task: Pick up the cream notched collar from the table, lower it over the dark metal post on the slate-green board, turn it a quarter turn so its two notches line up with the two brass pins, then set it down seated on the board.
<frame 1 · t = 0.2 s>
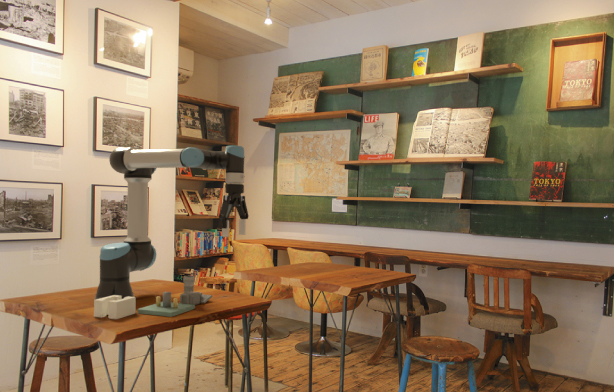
hand: (234, 235, 203), 28 cm above the table, fingers open, 13 cm apart
board: (166, 310, 189), on the table
camera: (193, 304, 202), on the table
collar: (115, 314, 181), on the table
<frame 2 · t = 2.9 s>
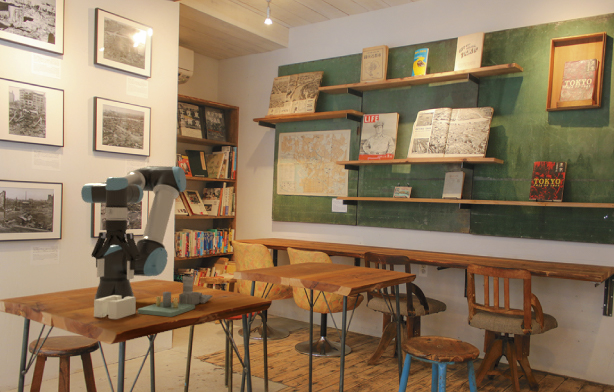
hand: (115, 277, 181), 14 cm above the table, fingers open, 13 cm apart
nothing on the table moved.
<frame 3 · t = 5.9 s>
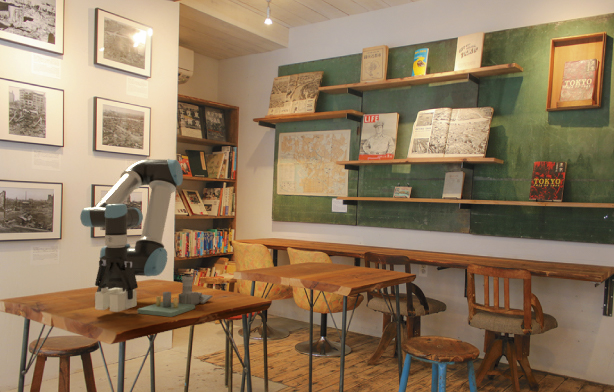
hand: (116, 306, 182), 3 cm above the table, fingers closed on collar, 10 cm apart
collar: (116, 307, 182), point 3 cm above the table, touching gripper
everything else where it was.
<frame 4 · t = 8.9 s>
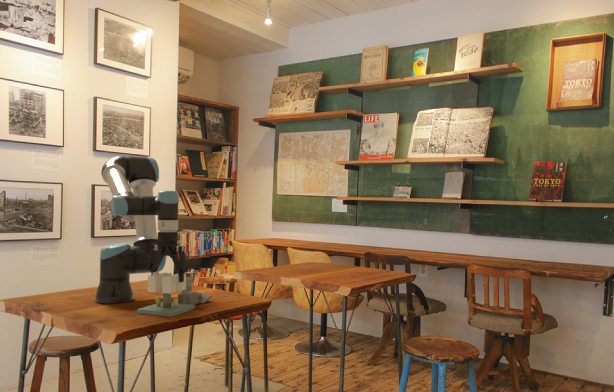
hand: (167, 289, 189), 8 cm above the table, fingers closed on collar, 10 cm apart
collar: (167, 290, 188), point 8 cm above the table, touching gripper
everything else where it was.
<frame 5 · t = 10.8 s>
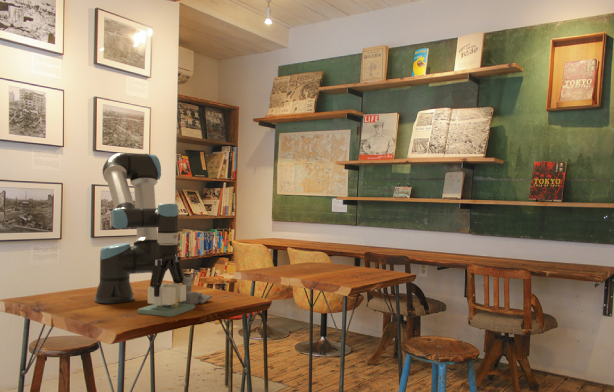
hand: (167, 302, 189), 3 cm above the table, fingers closed on collar, 10 cm apart
collar: (167, 301, 189), point 3 cm above the table, touching gripper
everything else where it was.
when the fingers open (2 cm above the table, at t = 12.0 s): collar drops 1 cm, resting on board.
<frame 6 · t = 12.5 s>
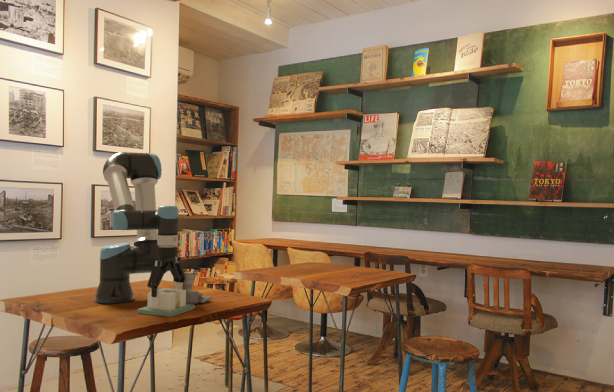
hand: (166, 302, 189), 3 cm above the table, fingers open, 13 cm apart
camera: (192, 303, 202), on the table, touching hand
collar: (166, 306, 189), point 1 cm above the table, touching board
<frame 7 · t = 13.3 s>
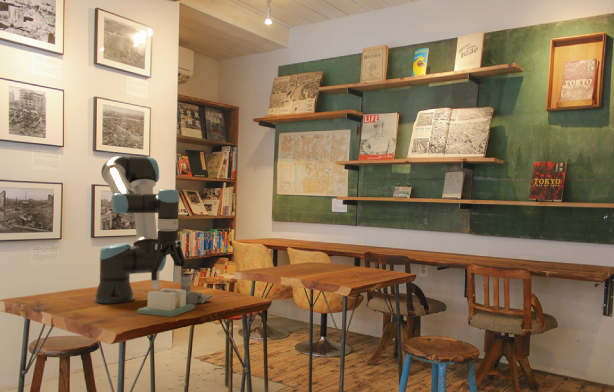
hand: (166, 285, 189), 9 cm above the table, fingers open, 13 cm apart
camera: (192, 304, 202), on the table
everything else where it was.
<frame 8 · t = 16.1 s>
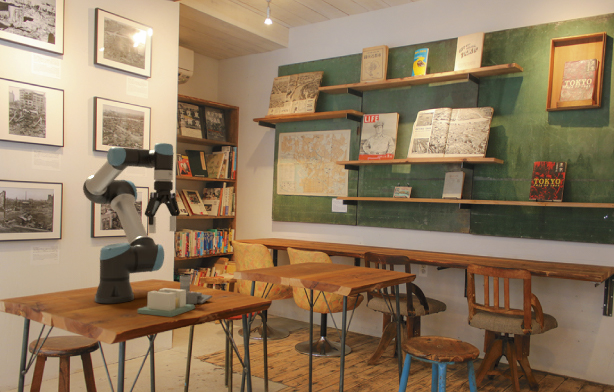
hand: (162, 232, 205), 29 cm above the table, fingers open, 13 cm apart
camera: (191, 304, 202), on the table, touching board
everything else where it was.
at the end: collar 0.0 cm off-centre on the board, point 1.5 cm above the board's base; collar tilted 0°; the gripper is holding nothing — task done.
